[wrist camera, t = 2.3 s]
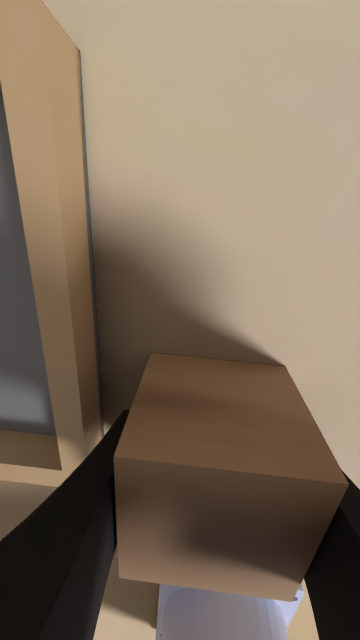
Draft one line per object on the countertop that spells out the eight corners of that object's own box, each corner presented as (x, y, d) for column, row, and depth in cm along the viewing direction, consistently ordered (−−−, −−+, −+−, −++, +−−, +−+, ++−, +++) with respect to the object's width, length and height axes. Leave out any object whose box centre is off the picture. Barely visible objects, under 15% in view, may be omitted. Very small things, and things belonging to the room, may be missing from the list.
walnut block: (259, 461, 12) (291, 601, 7) (147, 448, 12) (118, 577, 8) (285, 366, 10) (349, 484, 5) (150, 352, 10) (113, 456, 6)
